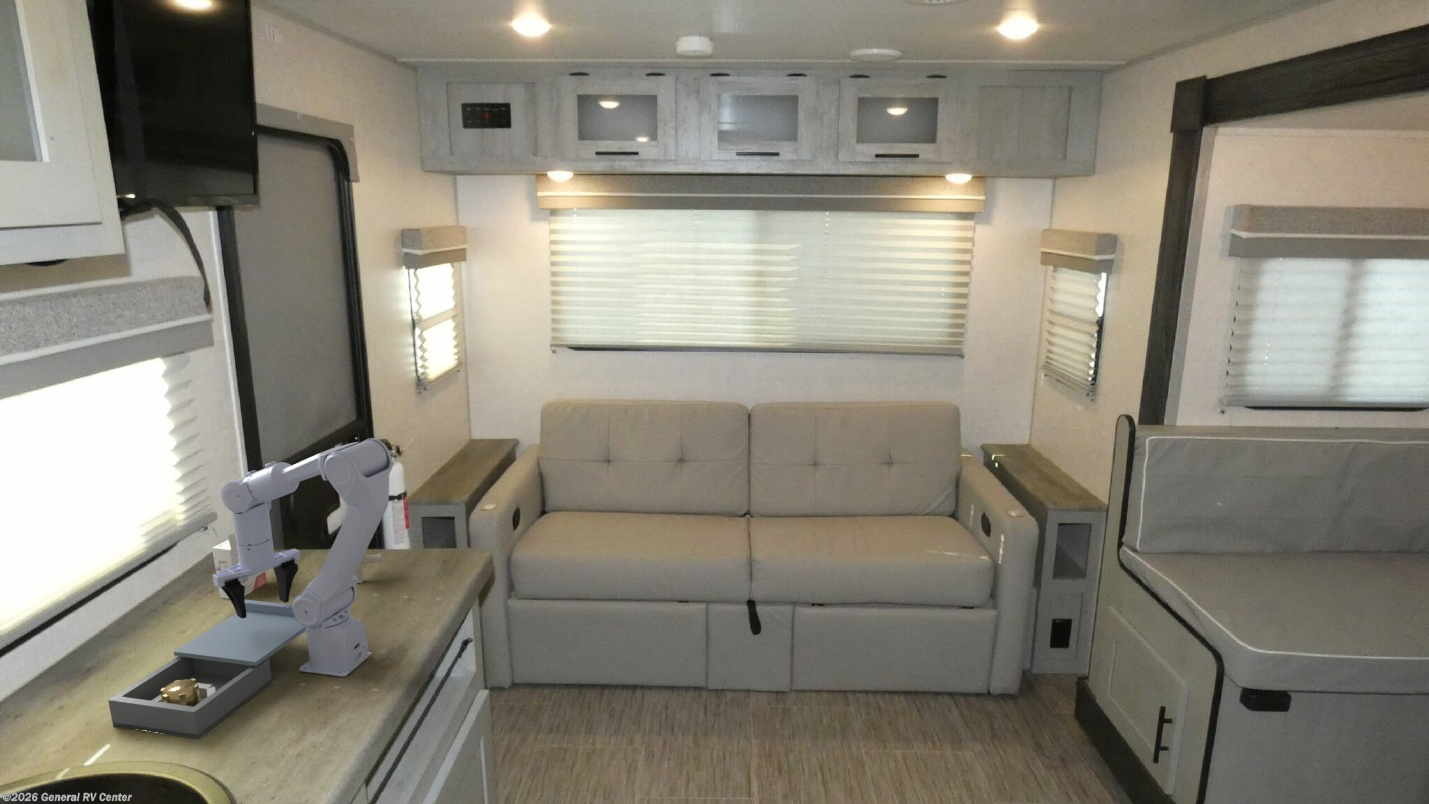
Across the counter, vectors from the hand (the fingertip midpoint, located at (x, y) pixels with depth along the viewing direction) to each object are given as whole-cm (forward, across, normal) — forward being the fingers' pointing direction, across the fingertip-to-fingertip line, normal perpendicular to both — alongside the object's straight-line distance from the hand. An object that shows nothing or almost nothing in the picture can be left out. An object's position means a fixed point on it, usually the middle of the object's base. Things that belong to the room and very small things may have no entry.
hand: (263, 608), depth 150 cm
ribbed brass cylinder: (+8, +18, +8) cm, 21 cm away
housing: (+9, +15, +7) cm, 19 cm away
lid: (+4, +4, +2) cm, 5 cm away
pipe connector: (+9, -26, -14) cm, 31 cm away
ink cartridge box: (+9, -9, -30) cm, 33 cm away
